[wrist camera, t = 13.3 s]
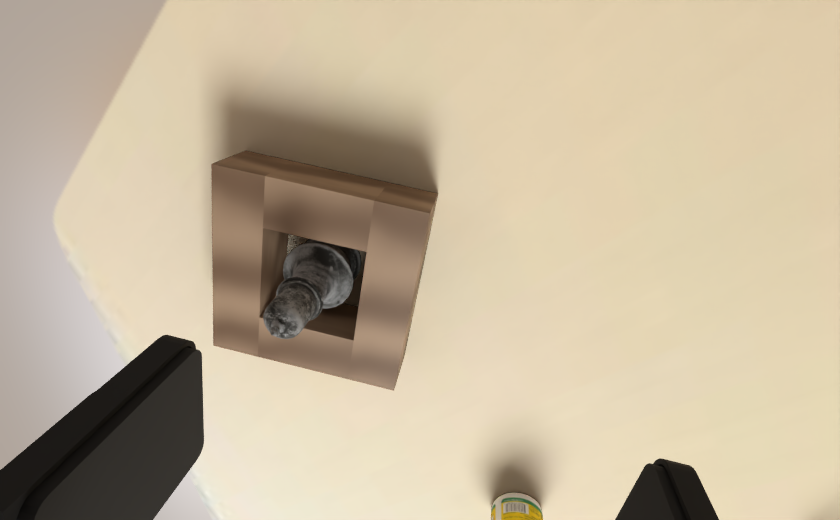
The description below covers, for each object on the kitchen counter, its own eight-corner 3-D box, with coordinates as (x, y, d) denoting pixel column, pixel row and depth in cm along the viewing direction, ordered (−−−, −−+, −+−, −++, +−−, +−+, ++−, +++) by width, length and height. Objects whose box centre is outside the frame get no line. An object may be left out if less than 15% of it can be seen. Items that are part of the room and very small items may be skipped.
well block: (245, 150, 38) (211, 164, 33) (438, 193, 37) (429, 213, 32) (242, 315, 44) (213, 345, 40) (404, 355, 43) (393, 390, 39)
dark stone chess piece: (310, 292, 42) (245, 374, 31) (291, 231, 40) (215, 298, 29) (371, 285, 41) (326, 369, 30) (355, 223, 39) (301, 289, 28)
